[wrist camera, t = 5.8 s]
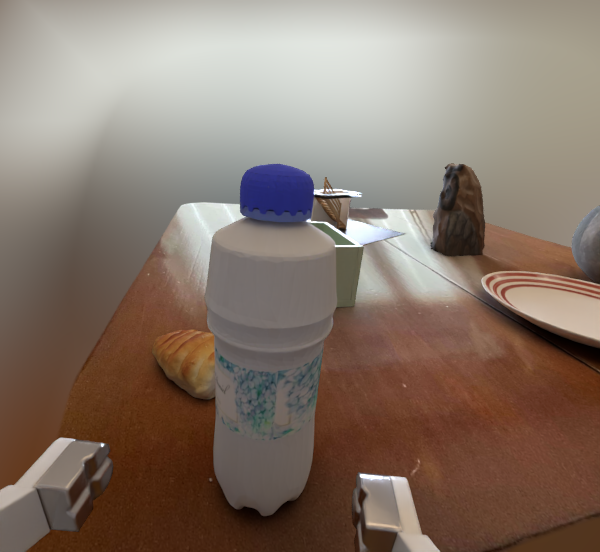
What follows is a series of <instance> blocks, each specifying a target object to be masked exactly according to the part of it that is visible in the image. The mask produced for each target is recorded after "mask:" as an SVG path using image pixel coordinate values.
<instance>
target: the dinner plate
mask: <svg viewBox="0 0 600 552" xmlns="http://www.w3.org/2000/svg"><path fill="white" fill-rule="evenodd" d="M482 286H483V287H484V289H485V290H486V291H487V292H488V293H489V294H490V295H491V296H492V297H493V298H494V299H496V300H497V301H498V302H499V303H501V304H502V305H503V306H505V307H506V308H508V309H509V310H511V311H512V312H514V313H515V314H517V315H519V316H521V317H523V318H524V319H526V320H528V321H529V322H531V323H533V324H535V325H537V326H538V327H540V328H543V329H545V330H547V331H549V332H551V333H554V334H556V335H559V336H561V337H564V338H567V339H569V340H572V341H575V342H578V343H581V344H585V345H588V346H592V347H595V348H599V349H600V285H599V284H595V283H591V282H587V281H582V280H578V279H573V278H568V277H563V276H557V275H551V274H544V273H535V272H524V271H502V272H495V273H490V274H488V275H486V276H484V277H483V278H482Z"/></svg>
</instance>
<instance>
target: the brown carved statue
mask: <svg viewBox="0 0 600 552" xmlns="http://www.w3.org/2000/svg"><path fill="white" fill-rule="evenodd" d="M445 169H446V174H445V176H444V179H443V181H444V187H443V190H442V192H441V194H440V197H439V204H438V207H437V209H436V210H435V212H434V214H433V217H434V221H435V222H434V225H433V242H432V243H430V244H432V245H431V247H432V248H431V249H433V250H434V251H437V252H440V253H442V254H443V255H447V256H456V255H460V256H463V255H481V254H483V253H482V250H483V248H484V236H485V235H484V232H485V221H484V214H483V199H482V191H481V186H480V183H479V180H478V179H477V176H476V175H475V173H474V171H473V170H472V169H471V168H470V167H468V166H466V165H464V164H459V165H455V164H453V163H451V164H448V165H447V166H446V167H445Z"/></svg>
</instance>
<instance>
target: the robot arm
mask: <svg viewBox="0 0 600 552" xmlns="http://www.w3.org/2000/svg"><path fill="white" fill-rule="evenodd" d="M109 452H110V448H109V444H105V443H98V442H91V441H84V440H77V439H69V438H59V439H58V440H56V441H55V442H53V443H52V445H51V446H50V447H49V448H48V449H47V450H46V451H45V452H44V454H42V455H41V457H40V458H39V459H38V460H37V461H36V462H35V463H34V464H33V465H32V466H31V468H30V469H29V470H28V471H27V472H26V473H25V474H24V475H23V476H22V477H21V479H20V480H19V481H18V482H17V483H16V484H15V485H9V486H7V487H5V488H3V489H1V490H0V552H25V551H27V550H28V549H29V548H30V547H31V546H33V545H34V544H35V543H36V542H38V541H39V540H40V539H41V538H42V537H44V536H45V535H46V534H47V533H49V532H50V529H52V530H63V531H74V532H79V530H80V529H81V527H82V526H83V524H84V523H85V521H86V519H87V518H88V516H89V515H90V513H91V512H92V510H93V500H95V499H96V498H98V497H99V496H100V495H102V494H103V493H104V491H105V489H106V488H107V486H108V484H109V482H110V479H111V476H112V473H113V463H112V460H111V459H110V458H109V457H108V456H107V455H108V454H109ZM356 487H357V488H355V489H354V491H353V497H352V521H353V525H354V527H355V528H356V534H355V538H354V545H355V552H440V551H439V550H438V549H437V547H436V546H435V545H434V544H433V542H432V541H431V540H430V539H429V537H428V536H427V535H422V533H421V529H420V525H419V521H418V518H417V514H416V510H415V506H414V502H413V499H412V495H411V491H410V487H409V484H408V481H407V479H406V478H404V477H395V476H389V475H381V474H371V473H361V472H358V474H357V477H356Z"/></svg>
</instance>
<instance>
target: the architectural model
mask: <svg viewBox="0 0 600 552" xmlns="http://www.w3.org/2000/svg"><path fill="white" fill-rule="evenodd" d="M326 182H327V184H328V185H329V187H330V188H331V189H329V188H328V186H327V184H326ZM326 188H327V189H326ZM353 194H362V193H358V192H352V191H347V190H342V189H332V187H331V185H330V184H329V182H328V180H327V177H325V182H324V190H314V200H313V209H312V216H311V219H309V220H306V221H312V222H327V223H329V224H330V225H332V226H333V227H335V228H336V229H338V230H339V231H341V232H342V233H344V234H345V235H347V236H348V237H350V238H351V239H353V240H354V241H356V242H357V243H359V244H360V245H363V244H367V243H371V242H375V241H379V240H383V239H387V238H391V237H395V236H399V235H402V234H404V233H400V232H397V231H393V230H389V229H385V228H381V227H377V226H373V225H369V224H365V223H361V222H357V221H353V220H349V219H348V216H349V208H350V201H351V198H352V197H361V196H358V195H353Z"/></svg>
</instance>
